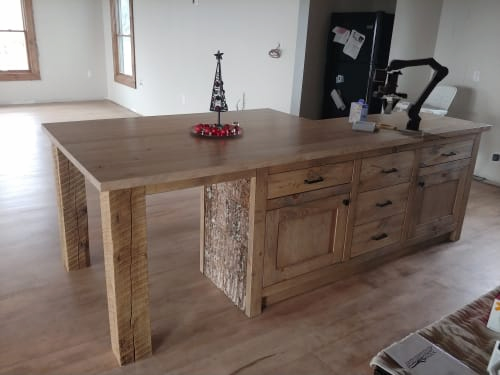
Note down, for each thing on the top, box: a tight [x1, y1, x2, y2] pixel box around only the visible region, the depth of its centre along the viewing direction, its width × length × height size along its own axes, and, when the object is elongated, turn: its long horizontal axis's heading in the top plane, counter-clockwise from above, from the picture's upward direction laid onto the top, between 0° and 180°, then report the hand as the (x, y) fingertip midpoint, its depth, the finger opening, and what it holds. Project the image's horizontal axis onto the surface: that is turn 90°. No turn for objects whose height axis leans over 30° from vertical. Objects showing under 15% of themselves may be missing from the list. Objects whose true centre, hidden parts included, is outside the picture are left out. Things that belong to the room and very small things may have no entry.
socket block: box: [375, 122, 396, 131], centre depth 260 cm, size 10×10×2 cm
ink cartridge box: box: [348, 98, 369, 124], centre depth 270 cm, size 10×6×14 cm, turn 29°
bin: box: [351, 121, 377, 134], centre depth 253 cm, size 11×11×4 cm
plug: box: [383, 100, 394, 115], centre depth 256 cm, size 5×5×7 cm
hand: (387, 110), depth 257 cm, fingers closed on plug, 4 cm apart
